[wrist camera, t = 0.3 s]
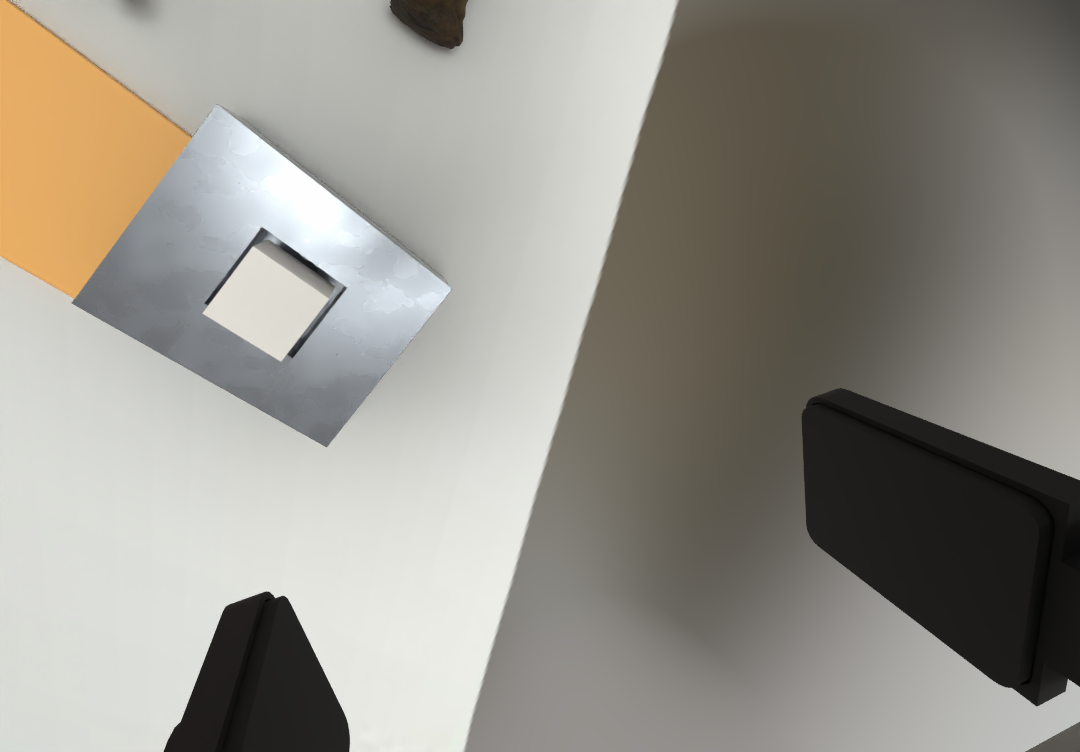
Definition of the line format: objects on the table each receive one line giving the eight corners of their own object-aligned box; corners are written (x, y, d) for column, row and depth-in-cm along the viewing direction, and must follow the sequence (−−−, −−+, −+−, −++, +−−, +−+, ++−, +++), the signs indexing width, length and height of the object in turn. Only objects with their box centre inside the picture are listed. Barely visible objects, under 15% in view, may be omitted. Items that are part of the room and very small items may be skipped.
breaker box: (241, 117, 30) (216, 103, 25) (442, 276, 36) (452, 288, 31) (116, 286, 31) (71, 303, 26) (332, 415, 36) (326, 447, 32)
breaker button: (268, 239, 28) (252, 246, 25) (335, 286, 30) (329, 299, 26) (224, 298, 29) (202, 313, 25) (292, 341, 30) (280, 361, 27)
